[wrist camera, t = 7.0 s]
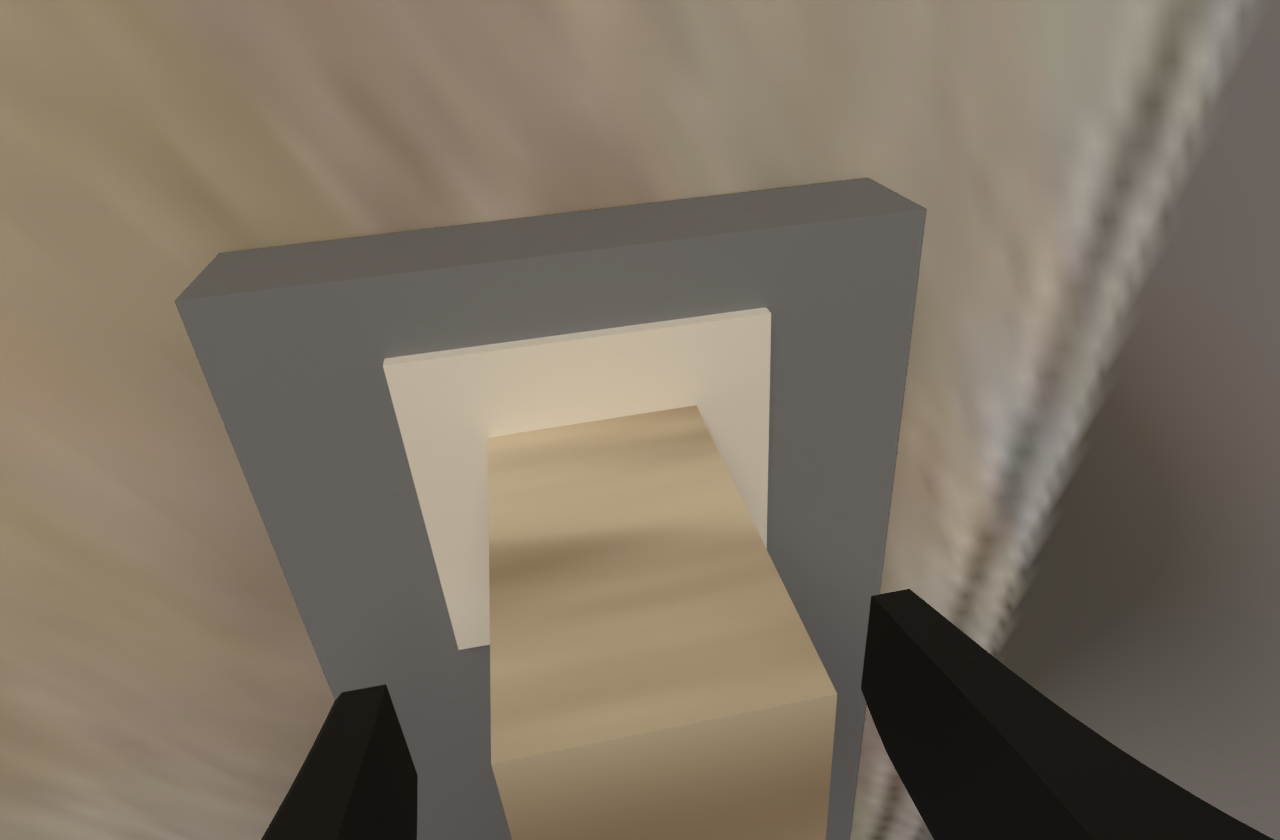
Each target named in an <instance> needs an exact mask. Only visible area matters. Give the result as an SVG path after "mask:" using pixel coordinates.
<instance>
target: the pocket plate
mask: <svg viewBox="0 0 1280 840" xmlns="http://www.w3.org/2000/svg"><path fill="white" fill-rule="evenodd" d="M926 210H927V209H926V208H924V207H922V206H920V205H918V204H916V203H914V202H913V201H911V200H909V199H907V198H905V197H903V196H901V195H900V194H898V193H896V192H894V191H892V190H890V189H888V188H887V187H885V186H883V185H881V184H879V183H877V182H875V181H874V180H872V179H870V178H862V179H853V180H845V181H836V182H827V183H819V184H810V185H802V186H793V187H784V188H776V189H767V190H759V191H750V192H741V193H733V194H724V195H716V196H707V197H698V198H690V199H681V200H673V201H664V202H655V203H647V204H638V205H630V206H621V207H613V208H604V209H595V210H587V211H578V212H570V213H561V214H552V215H544V216H535V217H527V218H518V219H509V220H501V221H492V222H484V223H475V224H466V225H458V226H449V227H441V228H432V229H423V230H415V231H406V232H398V233H389V234H380V235H372V236H363V237H355V238H346V239H337V240H329V241H320V242H312V243H303V244H294V245H286V246H277V247H269V248H260V249H251V250H243V251H234V252H226V253H219V254H218V255H217V256H216V257H215V258H214V259H213V261H212V262H211V263H210V264H209V265H208V266H207V267H206V268H205V269H204V270H203V271H202V272H201V273H200V274H199V275H198V277H197V278H196V279H195V280H194V281H193V282H192V283H191V284H190V285H189V286H188V287H187V288H186V289H185V290H184V291H183V293H182V294H181V295H180V296H179V297H178V298H177V299H176V300H175V303H176V306H177V308H178V311H179V313H180V316H181V318H182V321H183V323H184V326H185V328H186V331H187V333H188V336H189V338H190V341H191V343H192V346H193V348H194V351H195V353H196V356H197V358H198V361H199V363H200V366H201V368H202V371H203V373H204V376H205V378H206V380H207V383H208V385H209V388H210V390H211V393H212V395H213V398H214V400H215V403H216V405H217V408H218V410H219V413H220V415H221V418H222V420H223V423H224V425H225V428H226V430H227V433H228V435H229V438H230V440H231V443H232V445H233V448H234V450H235V453H236V455H237V458H238V460H239V463H240V465H241V468H242V470H243V473H244V475H245V478H246V480H247V483H248V485H249V488H250V490H251V493H252V495H253V498H254V500H255V503H256V505H257V508H258V510H259V512H260V515H261V517H262V520H263V522H264V525H265V527H266V530H267V532H268V535H269V537H270V540H271V542H272V545H273V547H274V550H275V552H276V555H277V557H278V560H279V562H280V565H281V567H282V570H283V572H284V575H285V577H286V580H287V582H288V585H289V587H290V590H291V592H292V595H293V597H294V600H295V602H296V605H297V607H298V610H299V612H300V615H301V617H302V620H303V622H304V625H305V627H306V630H307V632H308V635H309V637H310V640H311V642H312V644H313V647H314V649H315V652H316V654H317V657H318V659H319V662H320V664H321V667H322V669H323V672H324V674H325V677H326V679H327V682H328V684H329V687H330V689H331V692H332V694H333V697H334V699H335V700H336V699H337V697H338V696H339V695H340V694H341V693H342V692H346V691H352V690H357V689H363V688H368V687H374V686H379V685H385V684H386V685H387V688H388V691H389V694H390V697H391V700H392V703H393V706H394V708H395V711H396V714H397V717H398V720H399V723H400V726H401V729H402V732H403V735H404V737H405V740H406V743H407V746H408V749H409V752H410V755H411V758H412V761H413V764H414V766H415V769H416V772H417V775H418V790H417V840H512V837H511V833H510V830H509V826H508V823H507V819H506V815H505V812H504V808H503V805H502V801H501V798H500V794H499V790H498V787H497V783H496V780H495V776H494V772H493V769H492V765H491V701H490V593H489V485H488V437H495V436H501V435H508V434H514V433H521V432H527V431H534V430H540V429H546V428H553V427H559V426H566V425H572V424H579V423H585V422H591V421H598V420H604V419H611V418H617V417H624V416H630V415H636V414H643V413H649V412H656V411H662V410H669V409H675V408H681V407H688V406H694V405H696V406H697V408H698V410H699V412H700V414H701V416H702V418H703V420H704V422H705V425H706V427H707V429H708V431H709V433H710V435H711V437H712V439H713V441H714V443H715V445H716V447H717V449H718V451H719V453H720V455H721V457H722V459H723V461H724V463H725V465H726V467H727V469H728V472H729V474H730V476H731V478H732V480H733V482H734V484H735V486H736V488H737V490H738V492H739V494H740V496H741V498H742V500H743V502H744V504H745V506H746V508H747V510H748V512H749V514H750V517H751V519H752V521H753V523H754V525H755V527H756V529H757V531H758V533H759V535H760V537H761V539H762V541H763V543H764V545H765V547H766V549H767V551H768V553H769V555H770V557H771V559H772V561H773V564H774V566H775V568H776V570H777V572H778V574H779V576H780V578H781V580H782V582H783V584H784V586H785V588H786V590H787V592H788V594H789V596H790V598H791V600H792V602H793V604H794V606H795V608H796V611H797V613H798V615H799V617H800V619H801V621H802V623H803V625H804V627H805V629H806V631H807V633H808V635H809V637H810V639H811V641H812V643H813V645H814V647H815V649H816V651H817V653H818V655H819V658H820V660H821V662H822V664H823V666H824V668H825V670H826V672H827V674H828V676H829V678H830V680H831V682H832V684H833V686H834V688H835V690H836V692H837V705H836V717H835V730H834V742H833V755H832V767H831V780H830V792H829V805H828V817H827V830H826V840H850V835H851V827H852V819H853V811H854V802H855V794H856V786H857V778H858V769H859V761H860V753H861V745H862V737H863V728H864V720H865V712H866V704H867V703H866V700H865V698H864V695H863V693H862V690H861V682H862V674H863V665H864V656H865V647H866V638H867V629H868V621H869V612H870V603H871V596H874V595H879V594H880V589H881V580H882V572H883V564H884V556H885V547H886V539H887V531H888V523H889V515H890V506H891V498H892V490H893V482H894V473H895V465H896V457H897V449H898V441H899V432H900V424H901V416H902V408H903V399H904V391H905V383H906V375H907V366H908V358H909V350H910V342H911V334H912V325H913V317H914V309H915V301H916V292H917V284H918V276H919V268H920V260H921V251H922V243H923V235H924V227H925V218H926Z"/></svg>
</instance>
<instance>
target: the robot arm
mask: <svg viewBox="0 0 1280 840" xmlns="http://www.w3.org/2000/svg"><path fill="white" fill-rule="evenodd" d="M861 690H862V693H863V695H864V698H865V700H866V703H867V705H868V708H869V711H870V713H871V716H872V718H873V721H874V723H875V726H876V728H877V730H878V733H879V735H880V737H881V740H882V742H883V745H884V747H885V749H886V752H887V754H888V756H889V758H890V760H891V761H892V763H893V765H894V767H895V769H896V771H897V773H898V774H899V776H900V778H901V780H902V782H903V784H904V786H905V787H906V789H907V791H908V793H909V795H910V797H911V798H912V800H913V802H914V804H915V806H916V808H917V809H918V811H919V813H920V815H921V817H922V818H923V820H924V822H925V824H926V826H927V827H928V829H929V831H930V833H931V835H932V837H933V838H934V840H1274V839H1272V838H1270V837H1268V836H1266V835H1264V834H1262V833H1260V832H1259V831H1257V830H1255V829H1253V828H1251V827H1249V826H1248V825H1246V824H1244V823H1242V822H1240V821H1238V820H1236V819H1235V818H1233V817H1231V816H1229V815H1228V814H1226V813H1224V812H1222V811H1221V810H1219V809H1217V808H1215V807H1213V806H1212V805H1210V804H1208V803H1207V802H1205V801H1203V800H1201V799H1200V798H1198V797H1196V796H1195V795H1193V794H1191V793H1190V792H1188V791H1186V790H1185V789H1183V788H1182V787H1180V786H1178V785H1177V784H1175V783H1173V782H1171V781H1170V780H1168V779H1167V778H1165V777H1164V776H1162V775H1160V774H1159V773H1157V772H1155V771H1154V770H1152V769H1150V768H1149V767H1147V766H1146V765H1144V764H1142V763H1140V762H1139V761H1138V760H1136V759H1135V758H1133V757H1132V756H1130V755H1129V754H1127V753H1125V752H1124V751H1122V750H1121V749H1119V748H1118V747H1116V746H1115V745H1113V744H1112V743H1110V742H1109V741H1107V740H1106V739H1105V738H1103V737H1102V736H1100V735H1099V734H1097V733H1096V732H1094V731H1093V730H1092V729H1090V728H1088V727H1087V726H1086V725H1084V724H1083V723H1081V722H1080V721H1079V720H1077V719H1076V718H1074V717H1072V716H1071V715H1070V714H1069V713H1067V712H1066V711H1064V710H1063V709H1062V708H1060V707H1059V706H1057V705H1056V704H1055V703H1053V702H1052V701H1051V700H1049V699H1048V698H1047V697H1045V696H1044V695H1043V694H1041V693H1040V692H1039V691H1037V690H1036V689H1035V688H1033V687H1032V686H1031V685H1029V684H1028V683H1027V682H1026V681H1024V680H1023V679H1022V678H1020V677H1019V676H1018V675H1016V674H1015V673H1014V672H1012V671H1011V670H1010V669H1008V668H1007V667H1006V666H1005V665H1003V664H1002V663H1001V662H1000V661H998V660H997V659H996V658H994V657H993V656H992V655H991V654H989V653H988V652H987V651H986V650H984V649H983V648H982V647H981V646H979V645H978V644H977V643H976V642H974V641H973V640H972V639H971V638H969V637H968V636H967V635H966V634H964V633H963V632H962V631H961V630H960V629H958V628H957V627H956V626H955V625H953V624H952V623H951V622H950V621H948V620H947V619H946V618H945V617H944V616H942V615H941V614H940V613H939V612H937V611H936V610H935V609H934V608H932V607H931V606H930V605H929V604H927V603H926V602H925V601H924V600H922V599H921V598H920V597H919V596H917V595H916V594H915V593H914V592H912V591H911V590H910V589H907V590H901V591H896V592H890V593H885V594H879V595H874V596H871V603H870V612H869V621H868V629H867V638H866V647H865V656H864V665H863V674H862V682H861ZM417 790H418V775H417V772H416V769H415V766H414V764H413V761H412V758H411V755H410V752H409V749H408V746H407V743H406V740H405V737H404V735H403V732H402V729H401V726H400V723H399V720H398V717H397V714H396V711H395V708H394V706H393V703H392V700H391V697H390V694H389V691H388V688H387V685H386V684H385V685H379V686H374V687H368V688H363V689H357V690H352V691H346V692H342V693H341V694H340V695H339V696H338V697H337V699H336V700H335V702H334V704H333V706H332V708H331V710H330V712H329V714H328V716H327V718H326V720H325V722H324V724H323V726H322V728H321V730H320V732H319V734H318V736H317V738H316V740H315V742H314V744H313V746H312V748H311V750H310V752H309V754H308V756H307V758H306V760H305V762H304V764H303V765H302V767H301V769H300V771H299V773H298V775H297V777H296V779H295V780H294V782H293V784H292V786H291V788H290V790H289V792H288V793H287V795H286V797H285V799H284V800H283V802H282V804H281V806H280V807H279V809H278V811H277V813H276V815H275V816H274V818H273V820H272V822H271V823H270V825H269V827H268V829H267V830H266V832H265V834H264V836H263V837H262V839H261V840H417Z"/></svg>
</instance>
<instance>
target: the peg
mask: <svg viewBox="0 0 1280 840" xmlns="http://www.w3.org/2000/svg"><path fill="white" fill-rule="evenodd" d="M488 485H489V593H490V701H491V765H492V769H493V772H494V776H495V780H496V783H497V787H498V790H499V794H500V798H501V801H502V805H503V808H504V812H505V815H506V819H507V823H508V826H509V830H510V833H511V837H512V840H826V830H827V817H828V805H829V792H830V780H831V767H832V755H833V742H834V730H835V717H836V705H837V692H836V690H835V688H834V686H833V684H832V682H831V680H830V678H829V676H828V674H827V672H826V670H825V668H824V666H823V664H822V662H821V660H820V658H819V655H818V653H817V651H816V649H815V647H814V645H813V643H812V641H811V639H810V637H809V635H808V633H807V631H806V629H805V627H804V625H803V623H802V621H801V619H800V617H799V615H798V613H797V611H796V608H795V606H794V604H793V602H792V600H791V598H790V596H789V594H788V592H787V590H786V588H785V586H784V584H783V582H782V580H781V578H780V576H779V574H778V572H777V570H776V568H775V566H774V564H773V561H772V559H771V557H770V555H769V553H768V551H767V549H766V547H765V545H764V543H763V541H762V539H761V537H760V535H759V533H758V531H757V529H756V527H755V525H754V523H753V521H752V519H751V517H750V514H749V512H748V510H747V508H746V506H745V504H744V502H743V500H742V498H741V496H740V494H739V492H738V490H737V488H736V486H735V484H734V482H733V480H732V478H731V476H730V474H729V472H728V469H727V467H726V465H725V463H724V461H723V459H722V457H721V455H720V453H719V451H718V449H717V447H716V445H715V443H714V441H713V439H712V437H711V435H710V433H709V431H708V429H707V427H706V425H705V422H704V420H703V418H702V416H701V414H700V412H699V410H698V408H697V406H696V405H694V406H688V407H681V408H675V409H669V410H662V411H656V412H649V413H643V414H636V415H630V416H624V417H617V418H611V419H604V420H598V421H591V422H585V423H579V424H572V425H566V426H559V427H553V428H546V429H540V430H534V431H527V432H521V433H514V434H508V435H501V436H495V437H488Z"/></svg>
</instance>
